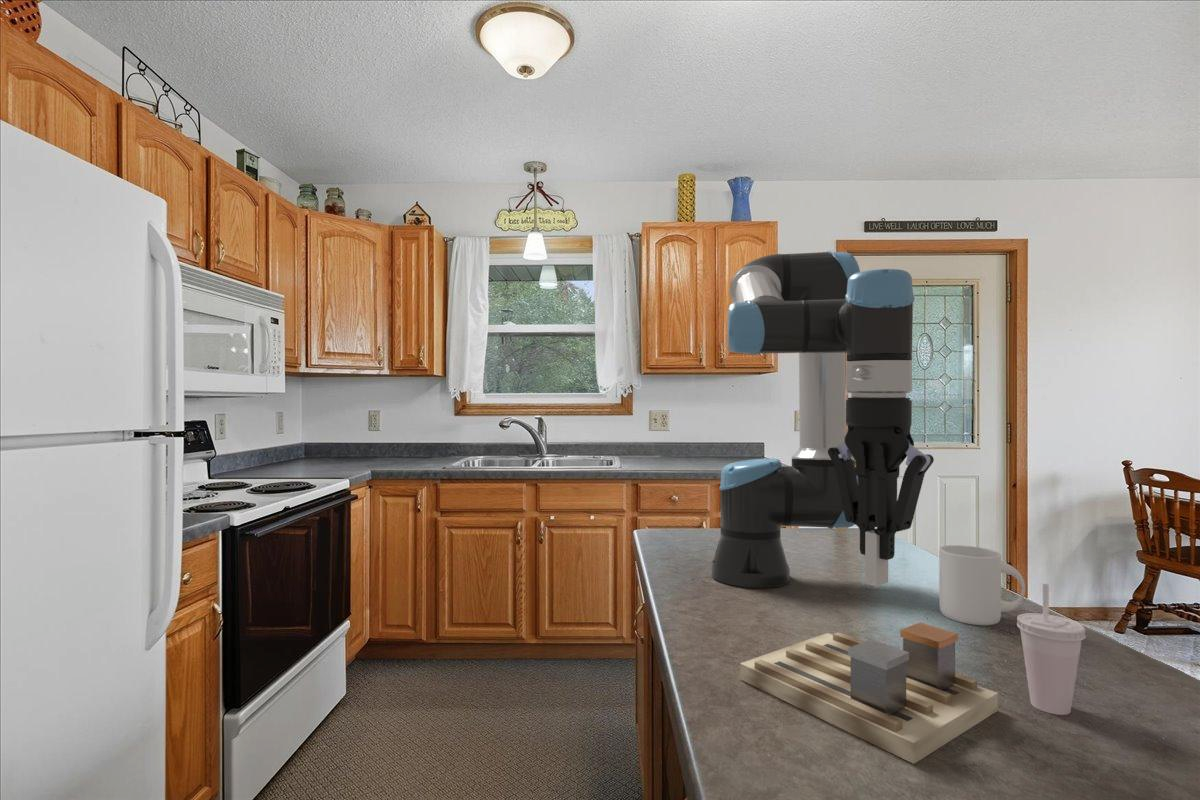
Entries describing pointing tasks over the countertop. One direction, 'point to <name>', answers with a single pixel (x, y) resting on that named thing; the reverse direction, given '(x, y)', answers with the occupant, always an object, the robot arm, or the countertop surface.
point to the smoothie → (1050, 657)
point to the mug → (974, 584)
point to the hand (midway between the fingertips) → (876, 582)
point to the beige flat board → (823, 689)
